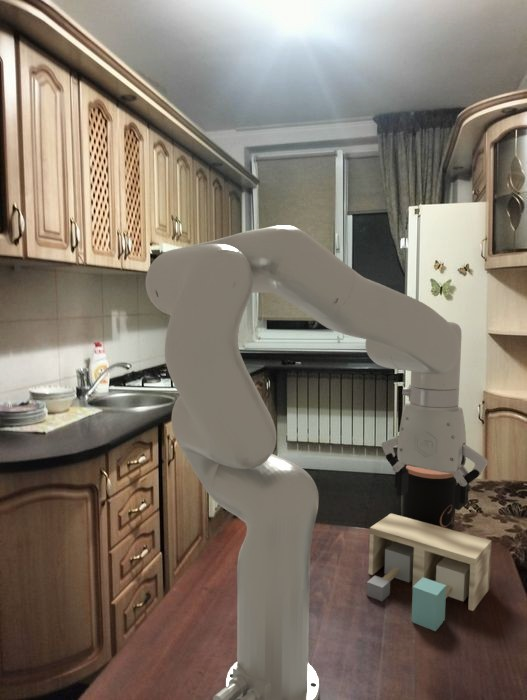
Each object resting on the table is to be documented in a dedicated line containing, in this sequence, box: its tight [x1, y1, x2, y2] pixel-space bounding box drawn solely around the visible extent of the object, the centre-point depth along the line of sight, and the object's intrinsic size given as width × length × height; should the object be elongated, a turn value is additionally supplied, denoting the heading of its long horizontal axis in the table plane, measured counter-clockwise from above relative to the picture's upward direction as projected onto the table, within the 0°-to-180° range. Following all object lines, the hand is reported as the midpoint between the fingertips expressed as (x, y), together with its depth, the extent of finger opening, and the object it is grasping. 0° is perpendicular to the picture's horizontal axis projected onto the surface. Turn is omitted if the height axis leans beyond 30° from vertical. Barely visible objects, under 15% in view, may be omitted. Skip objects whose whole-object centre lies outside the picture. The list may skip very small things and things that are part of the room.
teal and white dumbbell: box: [411, 557, 470, 632], centre depth 94 cm, size 16×5×6 cm, turn 141°
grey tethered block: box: [366, 542, 414, 602], centre depth 101 cm, size 14×5×5 cm, turn 141°
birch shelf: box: [368, 512, 492, 612], centre depth 101 cm, size 9×20×9 cm, turn 51°
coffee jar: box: [401, 465, 458, 531], centre depth 114 cm, size 11×11×18 cm
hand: (430, 500), depth 90 cm, fingers open, 9 cm apart
